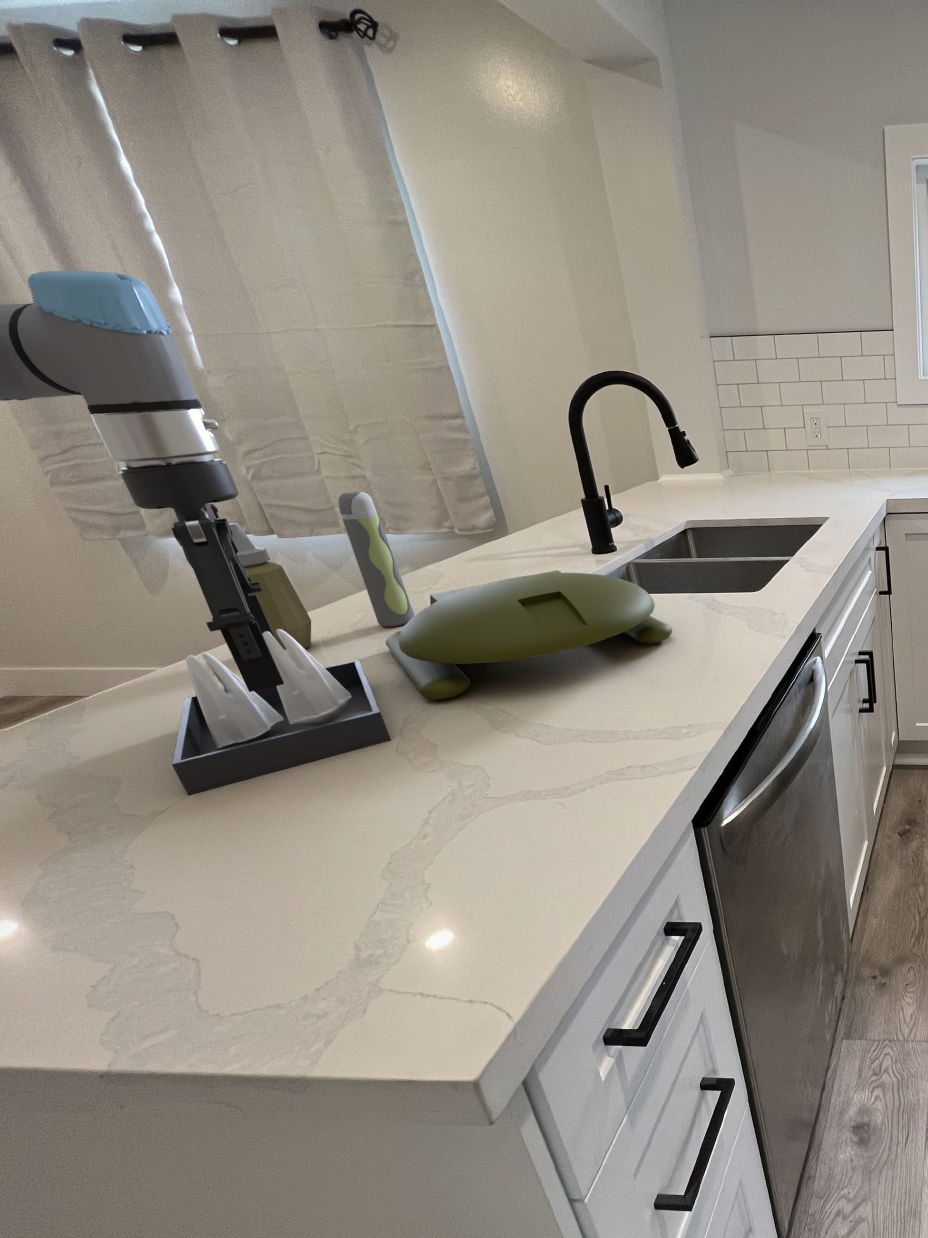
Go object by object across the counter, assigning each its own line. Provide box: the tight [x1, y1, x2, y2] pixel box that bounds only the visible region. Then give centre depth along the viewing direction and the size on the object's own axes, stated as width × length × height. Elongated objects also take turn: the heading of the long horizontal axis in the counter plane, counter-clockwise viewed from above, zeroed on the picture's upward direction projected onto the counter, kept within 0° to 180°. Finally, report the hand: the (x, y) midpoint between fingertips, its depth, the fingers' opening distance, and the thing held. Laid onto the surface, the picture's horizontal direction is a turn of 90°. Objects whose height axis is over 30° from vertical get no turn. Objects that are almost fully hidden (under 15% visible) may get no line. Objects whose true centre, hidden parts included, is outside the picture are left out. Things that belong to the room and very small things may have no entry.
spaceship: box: [385, 569, 673, 700], centre depth 103 cm, size 35×31×10 cm
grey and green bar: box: [337, 490, 416, 628], centre depth 114 cm, size 5×5×20 cm
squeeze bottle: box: [229, 522, 312, 650], centre depth 104 cm, size 8×8×18 cm
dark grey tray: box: [171, 659, 392, 796], centre depth 82 cm, size 21×16×3 cm
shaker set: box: [185, 629, 352, 748], centre depth 81 cm, size 12×4×11 cm, turn 117°
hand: (266, 669), depth 80 cm, fingers open, 13 cm apart
